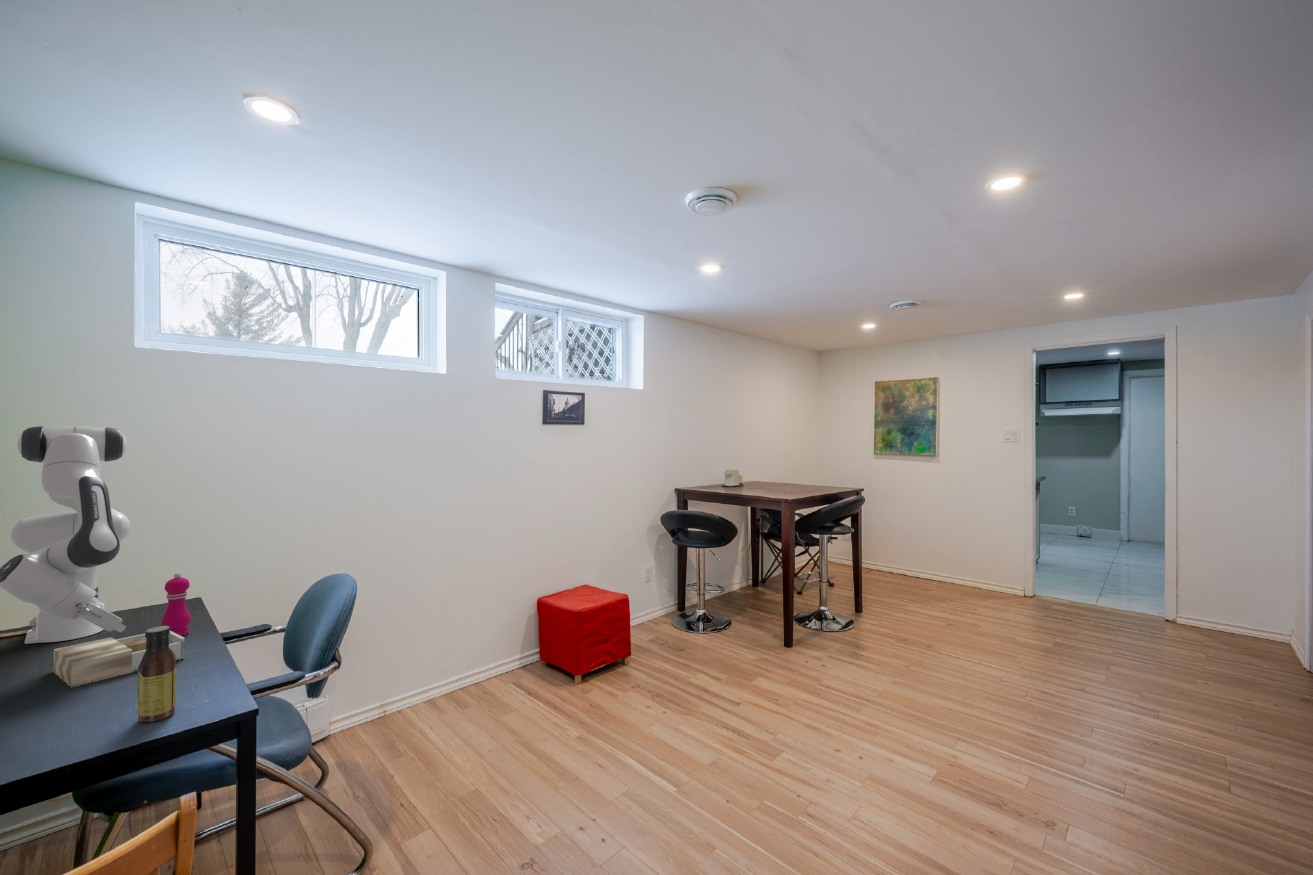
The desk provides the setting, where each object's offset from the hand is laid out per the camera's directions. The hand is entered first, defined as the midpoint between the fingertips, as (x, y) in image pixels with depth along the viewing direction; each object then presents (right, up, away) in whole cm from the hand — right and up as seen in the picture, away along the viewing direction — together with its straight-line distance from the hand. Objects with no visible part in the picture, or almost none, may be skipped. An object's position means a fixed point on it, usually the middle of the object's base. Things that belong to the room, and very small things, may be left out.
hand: (122, 629), depth 147 cm
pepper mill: (-7, -11, +24) cm, 27 cm away
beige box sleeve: (-3, -10, -5) cm, 11 cm away
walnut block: (0, -7, 0) cm, 7 cm away
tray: (+3, -10, +4) cm, 11 cm away
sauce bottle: (+36, -10, -29) cm, 47 cm away
